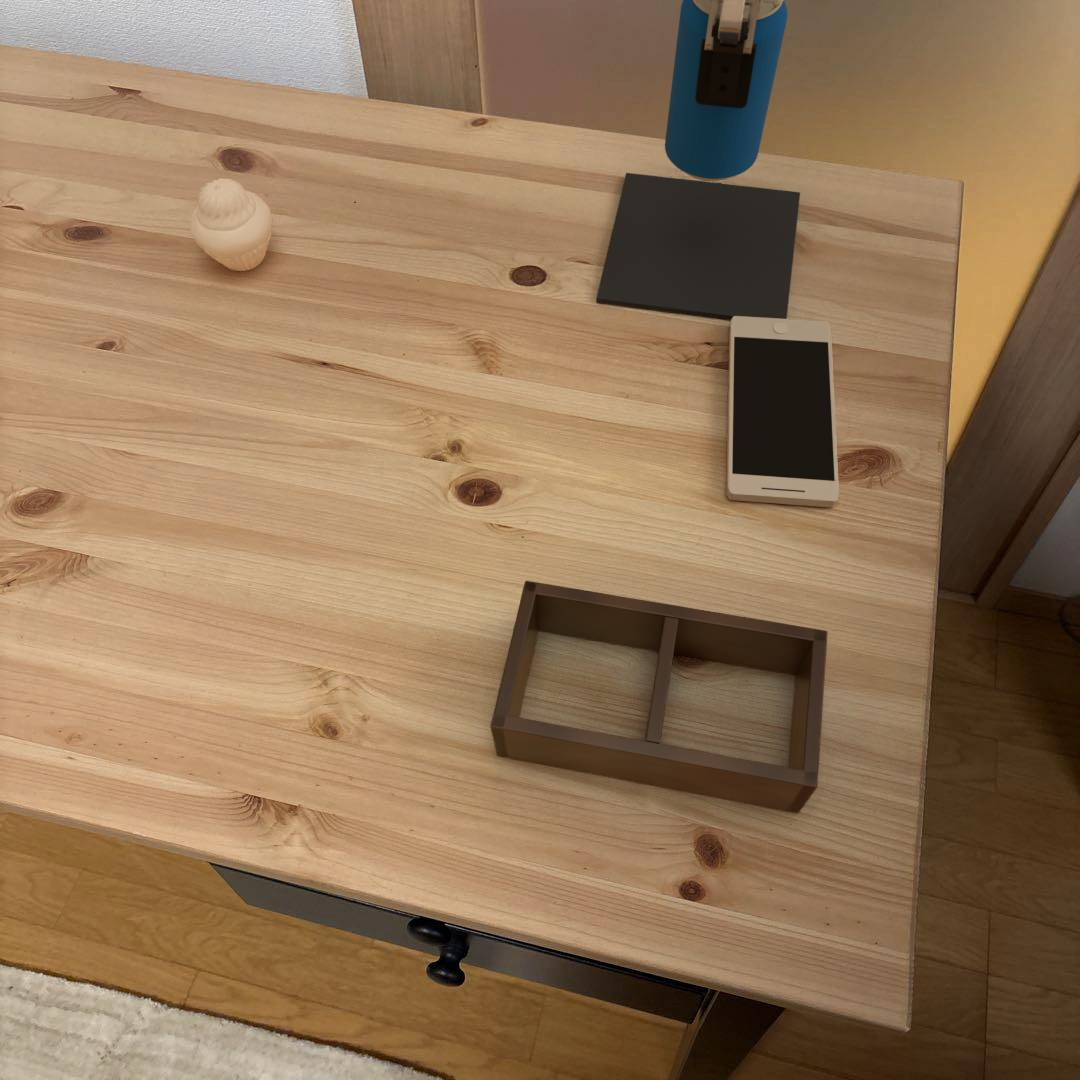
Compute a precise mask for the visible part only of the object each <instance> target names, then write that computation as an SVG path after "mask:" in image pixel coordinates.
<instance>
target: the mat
mask: <svg viewBox="0 0 1080 1080" xmlns="http://www.w3.org/2000/svg"><path fill="white" fill-rule="evenodd" d="M800 197H801V192H800V191H793V190H783V189H774V188H767V187H757V186H748V185H739V184H731V183H721V182H714V181H705V180H693V179H685V178H676V177H669V176H668V177H667V176H660V175H659V176H658V175H650V174H640V173H633V172H626V173H625V175H624V180H623V184H622V187H621V192H620V197H619V201H618V205H617V210H616V214H615V218H614V222H613V225H612V226H613V227H612V231H611V234H610V239H609V243H608V247H607V250H606V251H607V252H606V256H605V260H604V264H603V268H602V272H601V277H600V281H599V286H598V290H597V294H596V298H595V299H596V301H595V302H596V304H603V305H612V306H619V307H628V308H634V309H635V308H636V309H641V310H649V311H650V310H651V311H658V312H663V313H664V312H665V313H671V314H672V313H673V314H681V315H687V316H694V317H695V316H697V317H704V318H712V319H720V320H727V321H731V319H732V318H733V317H734V316H744V317H761V318H778V319H788V308H789V298H790V291H791V290H790V289H791V279H792V271H793V261H794V255H795V253H794V251H795V243H796V234H797V226H798V225H797V224H798V216H799V207H800Z"/></svg>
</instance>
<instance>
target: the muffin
mask: <svg viewBox="0 0 1080 1080" xmlns="http://www.w3.org/2000/svg"><path fill="white" fill-rule="evenodd" d="M197 199H198V201H197V204H196V206H195V208H194V210H193V211H192V212H191V215H190V220H189V232H190V235H191V237H192V240H194V242H195V243H196V244H197V246H198V247H200V248H201V249H202V250H203V252H204V253H206V254H207V255H208V256H209V257H211V258H212V259H213V260H215V261H217V262H218V263H219V264H222V266H224V267H226V268H227V269H229V270H231V271H235V272H238V271H239V272H246V271H250V270H253V269H254V268H257V266H260V264H262V262H263V261H264V259H265V257H266V253H267V249H268V247H269V244H270V240H271V236H272V232H273V229H272V226H273V216H272V215H273V214H272V211H271V209H270V207H269V205H268V204H267V203H266V202H265V200H264V199H262V198H261V197H260V196H259V195H257V194H256V193H254V192H252V191H249V190H247V189H246V190H245V188H244V187H243V186H242V184H241V183H240V182H238V181H235V180H233V179H231V178H223V177H219V178H218V179H212V181H211V182H206V183H205V186H202V187H201V188H200V191H199V193H198V194H197Z"/></svg>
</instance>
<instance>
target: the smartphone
mask: <svg viewBox="0 0 1080 1080" xmlns="http://www.w3.org/2000/svg"><path fill="white" fill-rule="evenodd" d="M728 331H729V332H728V333H729V334H728V383H727V384H728V385H727V386H728V388H727V390H728V391H727V393H728V394H727V438H726V439H727V440H726V441H727V442H726V443H727V444H726V445H727V448H726V450H727V451H726V497H727V498H728V499H729V500H730V501H738V502H752V503H753V502H754V503H766V504H780V505H793V506H808V507H819V508H834V507H835V506H836V505H837V502H838V499H839V497H840V483H839V465H838V464H839V461H838V445H837V444H838V441H837V424H836V423H837V420H836V401H835V384H834V383H835V382H834V364H833V341H832V327H831V324H830V323H829V321H826V320H811V319H810V320H809V319H796V318H795V319H793V318H786V319H778V318H761V317H744V316H734V317H733V318H732V319H731V320H730V325H729V330H728Z"/></svg>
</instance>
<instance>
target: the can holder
mask: <svg viewBox="0 0 1080 1080" xmlns="http://www.w3.org/2000/svg"><path fill="white" fill-rule="evenodd" d="M539 632H544V633H549V634H555V635H561V636H567V637H572V638H577V639H585V640H590V641H595V642H602V643H607V644H613V645H619V646H625V647H630V648H634V649H636V648H637V649H643V650H648V651H653V652H657V657H656V664H655V669H654V676H653V683H652V690H651V697H650V702H649V709H648V715H647V722H646V727H645V733H644V740H643V739H637V738H631V737H625V736H620V735H616V734H609V733H605V732H604V733H603V732H599V731H595V730H589V729H582V728H578V727H577V728H576V727H572V726H568V725H561V724H556V723H550V722H545V721H540V720H534V719H528V718H524V717H520V715H521V711H522V706H523V703H524V702H523V701H524V697H525V692H526V688H527V683H528V680H529V675H530V672H531V671H530V670H531V666H532V662H533V657H534V653H535V649H536V644H537V640H538V634H539ZM828 634H829V632H828V631H827V630H825V629H820V628H819V629H818V628H813V627H806V626H801V625H796V624H790V623H789V624H788V623H782V622H777V621H770V620H765V619H759V618H753V617H746V616H741V615H734V614H729V613H722V612H718V611H713V610H712V611H711V610H705V609H699V608H693V607H686V606H681V605H674V604H669V603H668V604H667V603H665V602H664V603H663V602H657V601H651V600H646V599H639V598H634V597H633V598H632V597H627V596H621V595H615V594H609V593H604V592H598V591H592V590H586V589H580V588H573V587H566V586H561V585H556V584H549V583H543V582H538V581H532V580H525V581H524V585H523V588H522V592H521V597H520V601H519V605H518V609H517V613H516V617H515V621H514V626H513V630H512V634H511V638H510V642H509V647H508V650H507V655H506V659H505V663H504V666H503V667H504V668H503V671H502V676H501V680H500V684H499V689H498V691H497V697H496V701H495V705H494V710H493V713H492V717H491V721H490V731H491V735H492V740H493V744H494V750H495V755H496V757H499V758H504V759H510V760H515V761H521V762H527V763H531V764H536V765H541V766H547V767H553V768H558V769H562V770H569V771H574V772H579V773H584V774H589V775H593V776H599V777H605V778H610V779H615V780H620V781H626V782H631V783H637V784H641V785H645V786H650V787H651V786H652V787H657V788H662V789H669V790H673V791H678V792H684V793H689V794H695V795H699V796H704V797H709V798H714V799H721V800H726V801H730V802H731V801H732V802H735V803H741V804H746V805H751V806H752V805H753V806H756V807H762V808H768V809H772V810H779V811H783V812H788V813H794V814H800V812H801V811H802V810H803V808H804V806H805V805H806V804H807V802H808V801H809V800H810V798H811V797H812V795H814V793H815V792H816V790H817V788H818V787H819V786H818V784H819V767H820V753H821V752H820V751H821V738H822V723H823V709H824V693H825V680H826V679H825V677H826V665H827V663H826V661H827V649H828V648H827V647H828ZM674 655H675V656H676V655H677V656H682V657H689V658H694V659H698V660H699V659H701V660H705V661H712V662H717V663H723V664H727V665H734V666H740V667H744V668H752V669H757V670H763V671H769V672H775V673H780V674H786V675H791V676H794V677H795V678H794V691H793V702H792V712H791V713H792V714H791V715H792V716H791V725H790V726H791V727H790V737H789V739H790V740H789V751H788V762H787V763H788V764H787V766H784V765H783V766H782V765H778V764H772V763H767V762H761V761H757V760H756V761H755V760H750V759H745V758H739V757H735V756H729V755H724V754H718V753H712V752H708V751H702V750H696V749H690V748H685V747H680V746H676V745H675V746H674V745H669V744H664V743H661V740H662V734H663V727H664V722H665V721H664V720H665V714H666V706H667V700H668V694H669V687H670V682H671V681H670V679H671V674H672V673H671V672H672V667H673V660H674Z"/></svg>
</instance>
